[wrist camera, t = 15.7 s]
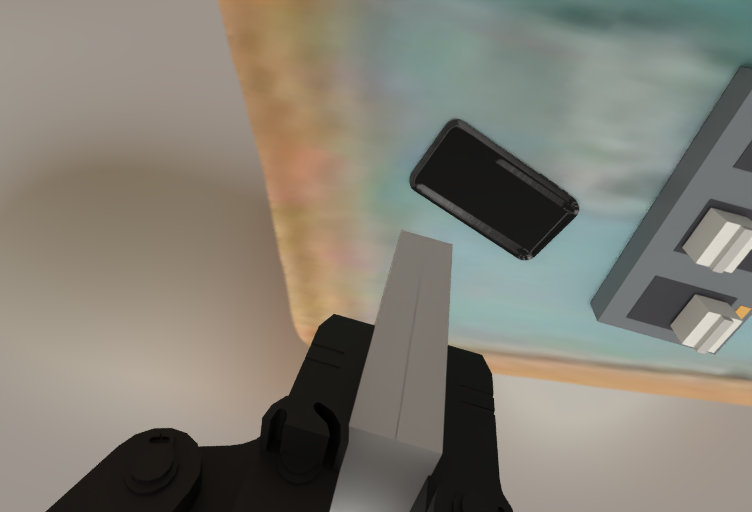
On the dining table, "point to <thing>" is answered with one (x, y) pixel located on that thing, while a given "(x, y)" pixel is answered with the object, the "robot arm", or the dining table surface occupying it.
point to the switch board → (688, 228)
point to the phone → (492, 191)
